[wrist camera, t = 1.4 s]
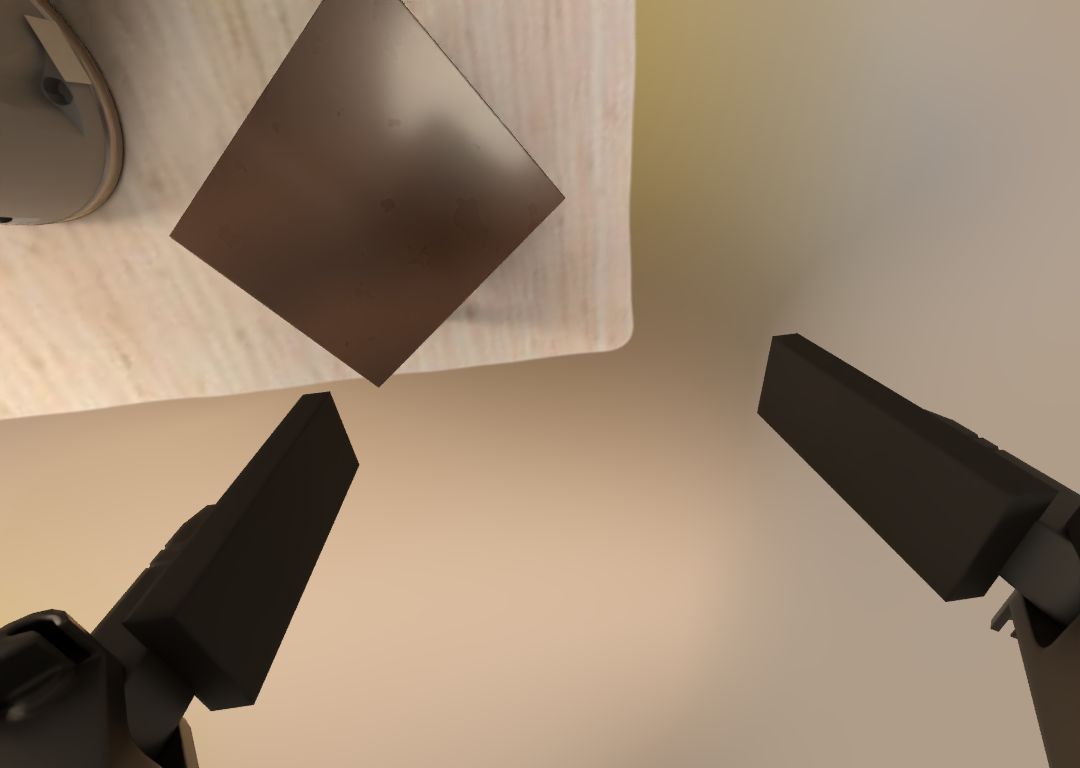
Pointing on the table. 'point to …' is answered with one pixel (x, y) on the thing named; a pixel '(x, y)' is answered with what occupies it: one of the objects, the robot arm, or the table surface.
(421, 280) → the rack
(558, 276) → the table surface
